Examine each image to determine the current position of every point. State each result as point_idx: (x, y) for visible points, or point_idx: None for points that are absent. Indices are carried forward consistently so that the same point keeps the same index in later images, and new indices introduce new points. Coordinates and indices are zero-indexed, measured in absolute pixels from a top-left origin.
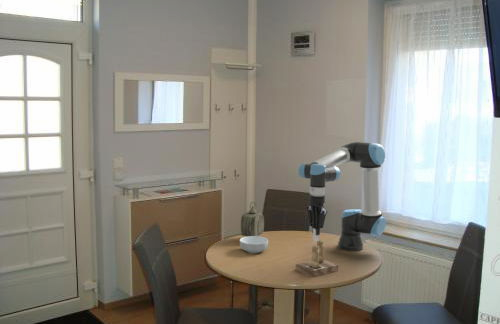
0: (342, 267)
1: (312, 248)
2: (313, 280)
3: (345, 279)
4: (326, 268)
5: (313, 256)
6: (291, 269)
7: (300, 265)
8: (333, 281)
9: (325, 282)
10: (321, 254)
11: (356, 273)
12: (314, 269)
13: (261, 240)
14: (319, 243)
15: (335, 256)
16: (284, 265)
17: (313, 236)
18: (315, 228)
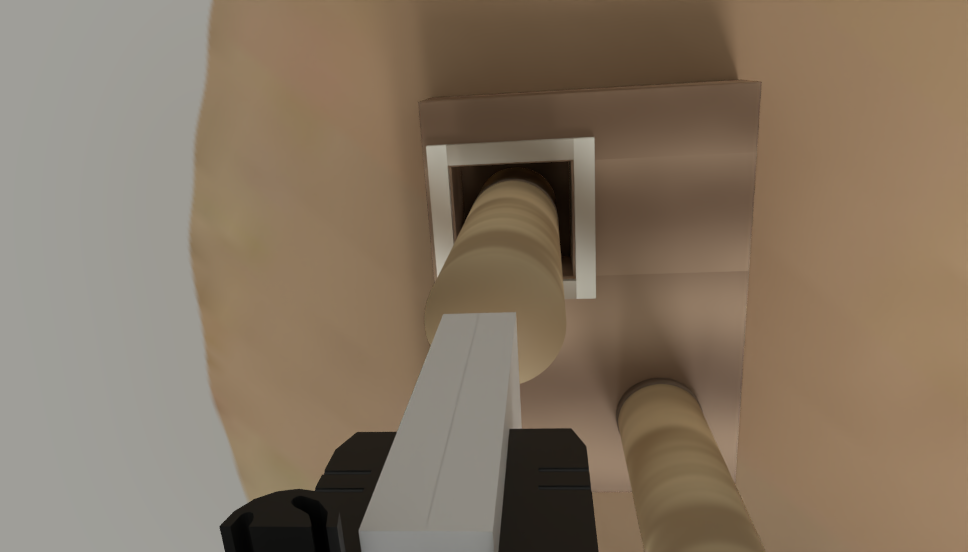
0: None
1: (513, 248)
2: (338, 39)
3: (228, 347)
4: None
5: (489, 215)
6: (783, 47)
7: (682, 111)
8: (226, 211)
9: (233, 117)
10: (632, 458)
11: None
12: (442, 156)
13: None
14: (688, 547)
15: None
16: (964, 62)
17: (487, 365)
18: (259, 518)
